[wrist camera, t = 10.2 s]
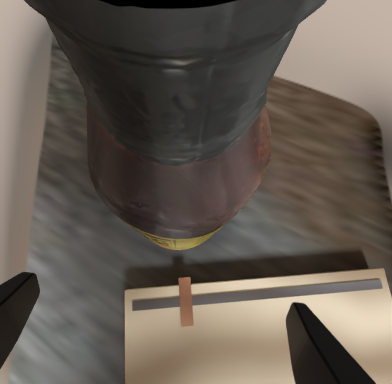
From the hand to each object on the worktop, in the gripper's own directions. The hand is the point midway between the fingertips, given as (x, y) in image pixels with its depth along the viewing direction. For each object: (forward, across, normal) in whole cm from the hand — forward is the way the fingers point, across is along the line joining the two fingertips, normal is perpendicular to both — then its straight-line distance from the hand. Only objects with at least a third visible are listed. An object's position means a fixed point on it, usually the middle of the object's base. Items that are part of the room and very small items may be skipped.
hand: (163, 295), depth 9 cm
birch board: (+5, -6, +10) cm, 13 cm away
